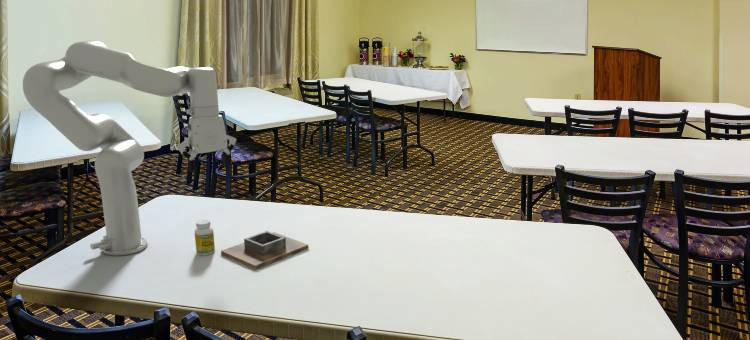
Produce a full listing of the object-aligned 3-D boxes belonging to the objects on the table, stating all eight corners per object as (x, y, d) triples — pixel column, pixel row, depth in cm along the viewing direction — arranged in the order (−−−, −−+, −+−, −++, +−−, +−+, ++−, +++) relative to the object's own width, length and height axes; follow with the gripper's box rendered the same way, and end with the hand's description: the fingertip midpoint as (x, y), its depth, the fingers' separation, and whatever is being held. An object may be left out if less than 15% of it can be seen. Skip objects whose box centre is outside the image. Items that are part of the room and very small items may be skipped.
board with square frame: (255, 269, 164) (254, 255, 163) (221, 254, 174) (220, 241, 173) (308, 248, 179) (308, 235, 178) (274, 235, 189) (273, 223, 188)
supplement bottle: (209, 247, 180) (207, 217, 177) (218, 252, 176) (216, 221, 173) (192, 252, 176) (190, 221, 174) (201, 257, 172) (199, 226, 170)
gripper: (179, 116, 160) (185, 177, 165) (239, 110, 170) (242, 167, 175) (170, 113, 166) (175, 172, 170) (228, 107, 176) (232, 162, 181)
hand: (209, 169), depth 173 cm, fingers open, 9 cm apart
